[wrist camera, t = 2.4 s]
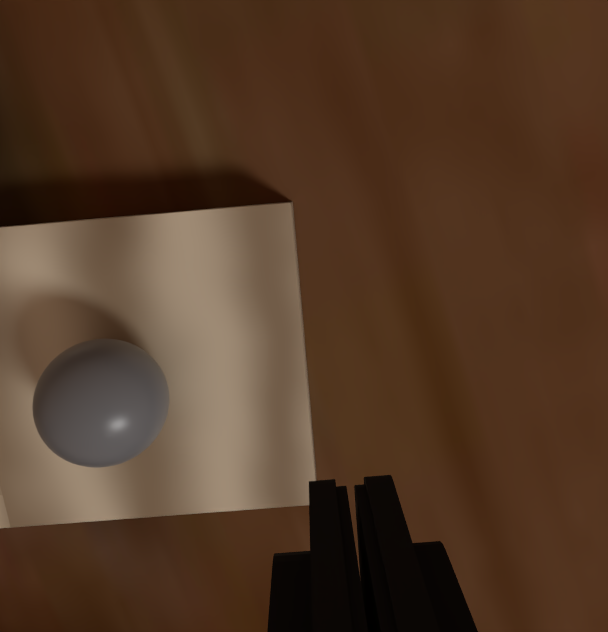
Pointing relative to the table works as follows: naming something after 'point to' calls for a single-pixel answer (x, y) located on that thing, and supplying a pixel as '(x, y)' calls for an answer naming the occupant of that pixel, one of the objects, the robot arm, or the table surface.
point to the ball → (100, 403)
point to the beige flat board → (162, 360)
